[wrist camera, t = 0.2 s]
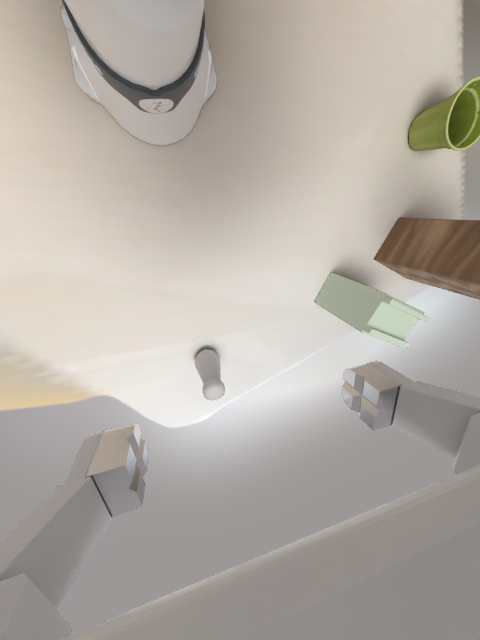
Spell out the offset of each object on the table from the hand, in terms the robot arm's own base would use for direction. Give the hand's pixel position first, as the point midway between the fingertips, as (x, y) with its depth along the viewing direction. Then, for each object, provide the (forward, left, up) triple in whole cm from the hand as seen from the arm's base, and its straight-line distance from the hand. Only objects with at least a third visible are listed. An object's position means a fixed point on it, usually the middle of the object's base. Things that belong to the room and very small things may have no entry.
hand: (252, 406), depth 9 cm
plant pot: (-16, +49, -39) cm, 65 cm away
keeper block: (+16, +35, -39) cm, 55 cm away
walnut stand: (+7, +52, -39) cm, 65 cm away
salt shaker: (+25, -1, -39) cm, 46 cm away
